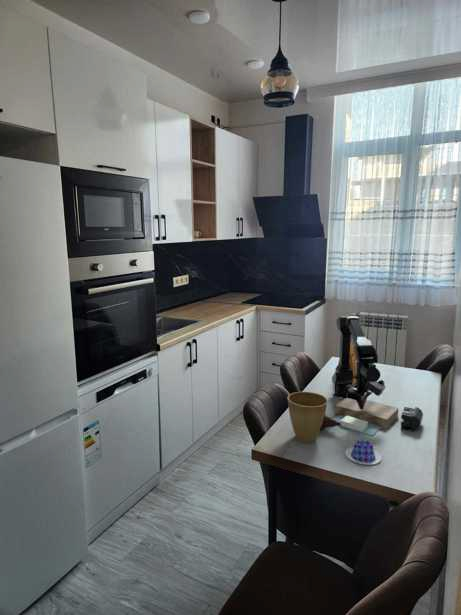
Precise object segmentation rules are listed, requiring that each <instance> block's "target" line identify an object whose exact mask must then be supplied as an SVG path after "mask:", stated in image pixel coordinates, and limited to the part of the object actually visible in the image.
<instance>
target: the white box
mask: <svg viewBox="0 0 461 615" xmlns="http://www.w3.org/2000/svg"><path fill="white" fill-rule="evenodd" d="M340 423H341V426H345V427H348V428H351V429H355V430H358V431H361V432H362V431H363V430H364V429H365V428H366V427H367V426H368V422H367V421H364V420H360V419H357V418H353V417H350V416H345V417H344V418H343V419H342V420H340ZM341 426H340V427H341ZM351 429H350V430H351Z"/></svg>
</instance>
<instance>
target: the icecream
mask: <svg viewBox="0 0 461 615" xmlns="http://www.w3.org/2000/svg"><path fill="white" fill-rule="evenodd" d="M333 419H334V418H331V417H329V416H327V415H326V414H325V416H324V419H323V422H322V425H321V428H320V430H319V431H325V429H327V428H332V427H338V426H339V425H341V423H339V422H337V421H335V420H333ZM339 427H340V426H339Z"/></svg>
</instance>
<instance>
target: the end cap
mask: <svg viewBox="0 0 461 615" xmlns="http://www.w3.org/2000/svg"><path fill="white" fill-rule="evenodd" d="M400 416H401V417H400V418H401V420H402V421H401V422H400V429H401V430H405V431H410V432H414V431H416V430H419V428H420V427H421V424H422V421H423V416H424V414H423V411H422V409H421V408H419V407H417V406H415V408H412V407H408V406H403V411H402V412H401V415H400Z"/></svg>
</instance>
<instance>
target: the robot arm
mask: <svg viewBox="0 0 461 615" xmlns="http://www.w3.org/2000/svg"><path fill="white" fill-rule="evenodd" d="M335 321H336V322H335V323H336V327H337V331H338V332H339V334H340V337H339V338H340V341H339V359H338V363H339V364H337V365H336V367H335V370H334V373H333V375H332V376H331V382H332V384H333V385H334V390H333V391H334V393H333V394H332V397H333V396H334V397H337V398H340V399H343V400H344V399H345V398H350V399H354V400H356V401H357V403H358V406H359V408H360V409H361V410H363V408H364V405H365V403H366V400H368V397H369V396H371V395H372V394H374V395H375V396H377V397H380V396H381V395H382V394H383V393H384V391H385V389H386V385H385V380H383V379H380V378H381V371H380V370H379V369H378V368H377V365H376V364H378V362H379V361H378V359H379V357H378V353H377V350H376V347H375V346H374V344H373V343H372V341H371V340H369V339H368V338H366V335H365V333H364V330H363V328H362V326H361V323H360V319H359V317H358V316H353V315H340V316H339V317H338V318H336V320H335ZM351 338H352V339H353V341H354V346H353V347H354V354H355V357H356V360H357V367H356V375H355V376H354V375H353V371H352V369H351V367H350V366H349V362H350V343H352V339H351ZM353 378H355V379H356V383H354V385H353V388H352V389H351V386H349V385H352V383H353Z"/></svg>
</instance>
